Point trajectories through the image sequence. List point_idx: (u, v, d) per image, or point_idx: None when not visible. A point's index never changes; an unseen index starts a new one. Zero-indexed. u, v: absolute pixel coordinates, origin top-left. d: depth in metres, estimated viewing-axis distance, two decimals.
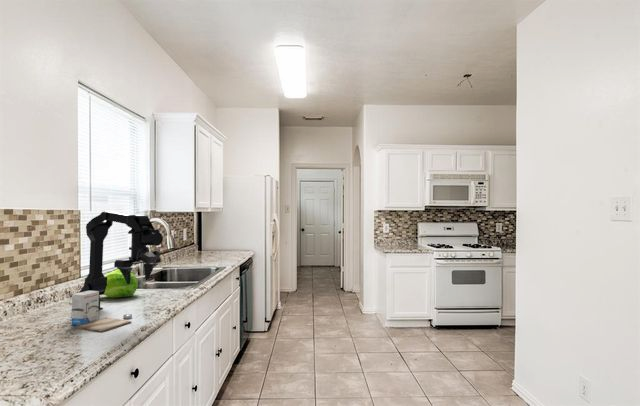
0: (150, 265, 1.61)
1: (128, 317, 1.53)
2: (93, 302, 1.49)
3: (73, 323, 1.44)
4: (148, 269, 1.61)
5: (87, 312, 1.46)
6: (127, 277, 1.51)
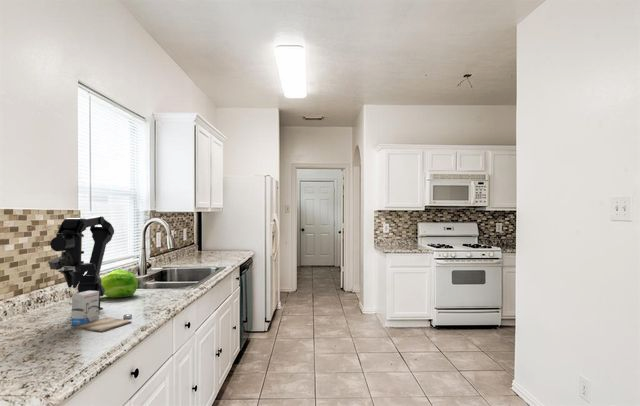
0: None
1: (128, 317, 1.53)
2: (93, 302, 1.49)
3: (73, 323, 1.44)
4: None
5: (87, 312, 1.46)
6: None
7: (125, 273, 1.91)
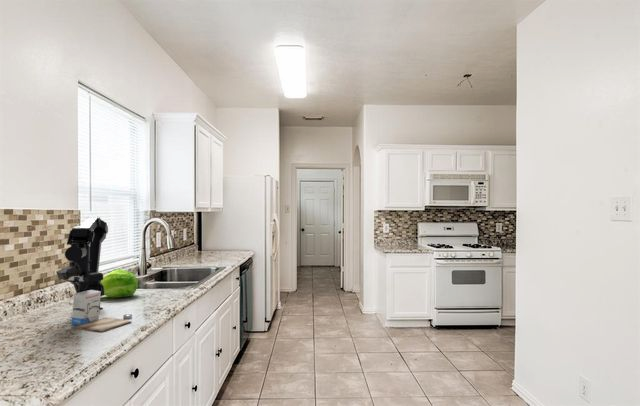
0: None
1: (128, 317, 1.53)
2: (94, 302, 1.49)
3: (73, 322, 1.44)
4: None
5: (88, 312, 1.46)
6: None
7: (125, 273, 1.91)
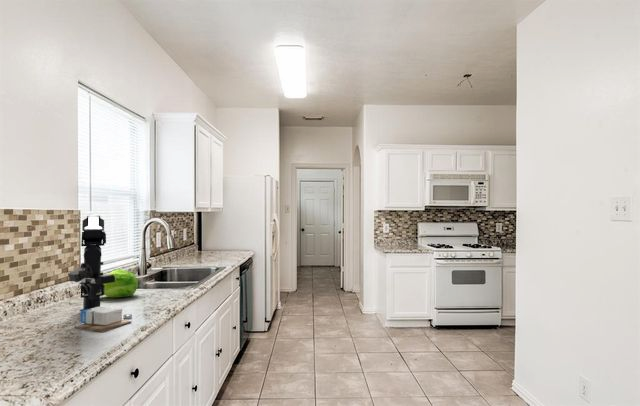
0: None
1: (128, 317, 1.53)
2: None
3: (81, 313, 1.43)
4: None
5: None
6: None
7: (125, 273, 1.91)
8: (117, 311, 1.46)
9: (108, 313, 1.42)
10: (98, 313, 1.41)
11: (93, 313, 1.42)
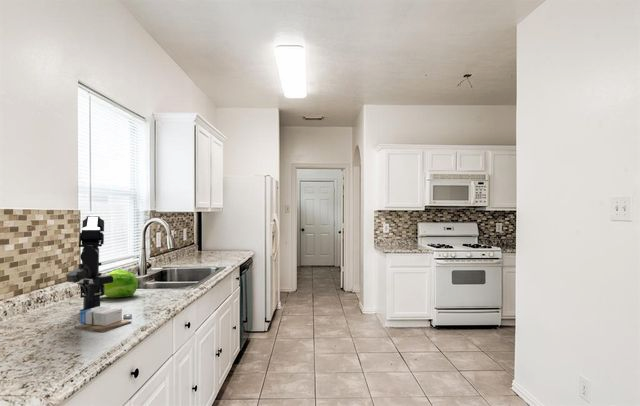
0: None
1: (128, 317, 1.53)
2: None
3: (81, 314, 1.43)
4: None
5: None
6: None
7: (125, 273, 1.91)
8: (117, 311, 1.46)
9: (108, 314, 1.42)
10: (98, 314, 1.41)
11: (93, 314, 1.42)
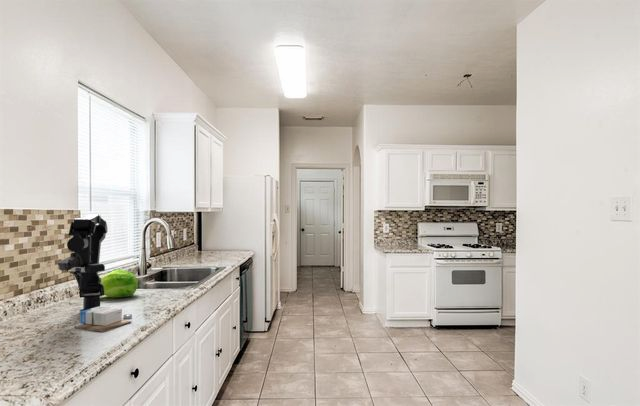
0: None
1: (128, 317, 1.53)
2: None
3: (81, 314, 1.43)
4: None
5: None
6: None
7: (125, 273, 1.91)
8: (117, 311, 1.46)
9: (108, 314, 1.42)
10: (98, 314, 1.41)
11: (93, 314, 1.42)
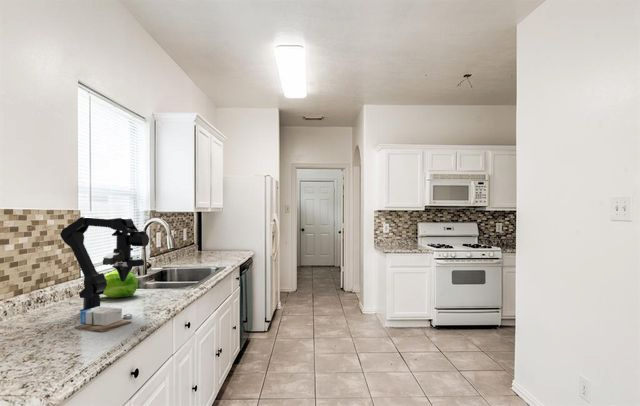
0: None
1: (128, 317, 1.53)
2: None
3: (81, 314, 1.43)
4: None
5: None
6: None
7: None
8: (117, 311, 1.46)
9: (108, 314, 1.42)
10: (98, 314, 1.41)
11: (93, 314, 1.42)
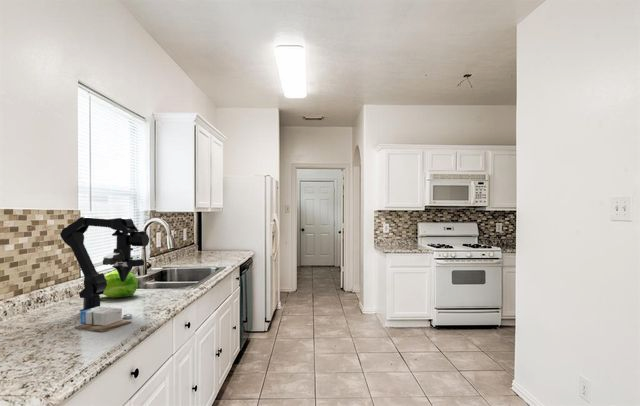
0: None
1: (128, 317, 1.53)
2: None
3: (81, 314, 1.43)
4: None
5: None
6: None
7: None
8: (117, 311, 1.46)
9: (108, 314, 1.42)
10: (98, 314, 1.41)
11: (93, 314, 1.42)
